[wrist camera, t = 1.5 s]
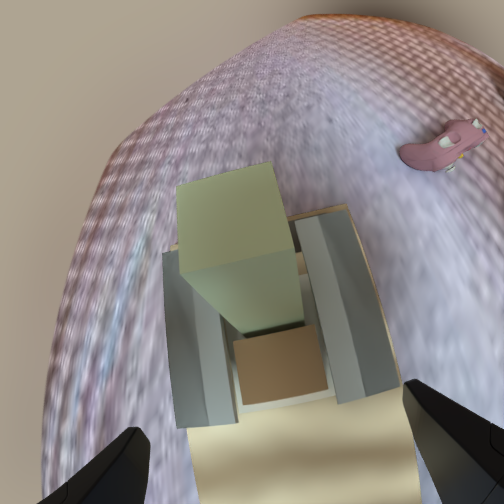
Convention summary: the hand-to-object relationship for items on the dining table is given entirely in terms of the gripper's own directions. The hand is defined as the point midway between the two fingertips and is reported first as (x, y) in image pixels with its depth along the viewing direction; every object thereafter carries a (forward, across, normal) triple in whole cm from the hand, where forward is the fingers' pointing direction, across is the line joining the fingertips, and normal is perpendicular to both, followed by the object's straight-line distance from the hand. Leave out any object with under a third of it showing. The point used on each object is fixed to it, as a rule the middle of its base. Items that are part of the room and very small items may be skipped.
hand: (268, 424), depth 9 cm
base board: (+11, 0, +8) cm, 14 cm away
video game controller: (+23, -21, -4) cm, 31 cm away
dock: (+13, 0, +5) cm, 14 cm away
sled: (+12, 0, +5) cm, 13 cm away
